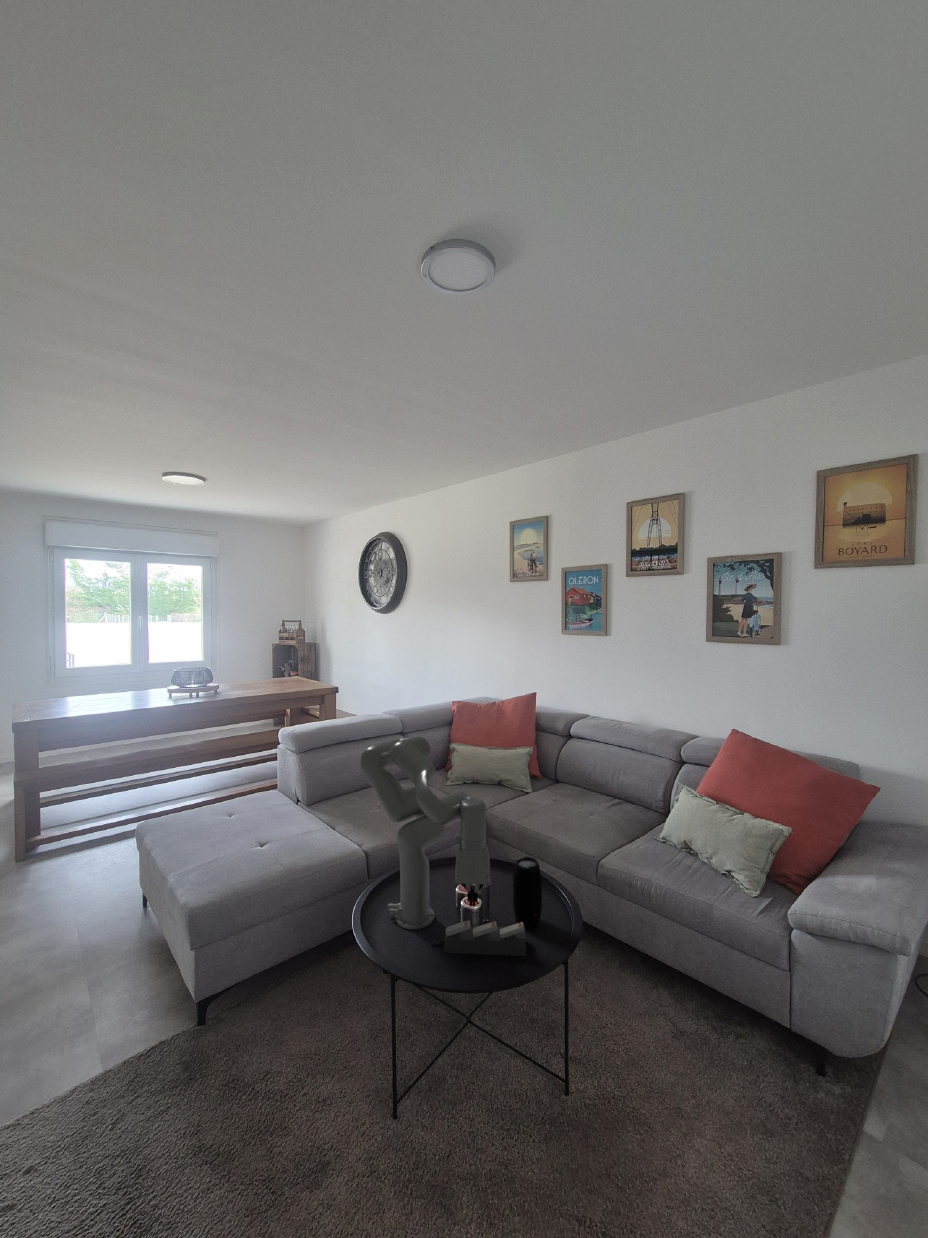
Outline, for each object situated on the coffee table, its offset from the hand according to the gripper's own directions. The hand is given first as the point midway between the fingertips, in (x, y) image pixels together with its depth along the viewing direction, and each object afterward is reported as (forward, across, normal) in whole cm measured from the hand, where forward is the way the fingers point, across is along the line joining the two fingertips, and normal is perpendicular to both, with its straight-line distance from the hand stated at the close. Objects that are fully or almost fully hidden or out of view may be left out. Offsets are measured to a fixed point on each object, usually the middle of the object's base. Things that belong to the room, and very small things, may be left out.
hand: (472, 903), depth 149 cm
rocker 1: (+7, -4, 0) cm, 8 cm away
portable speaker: (+14, +17, +14) cm, 26 cm away
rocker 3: (+7, +12, 0) cm, 14 cm away
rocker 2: (+7, +4, 0) cm, 8 cm away
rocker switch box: (+13, +2, +1) cm, 14 cm away
